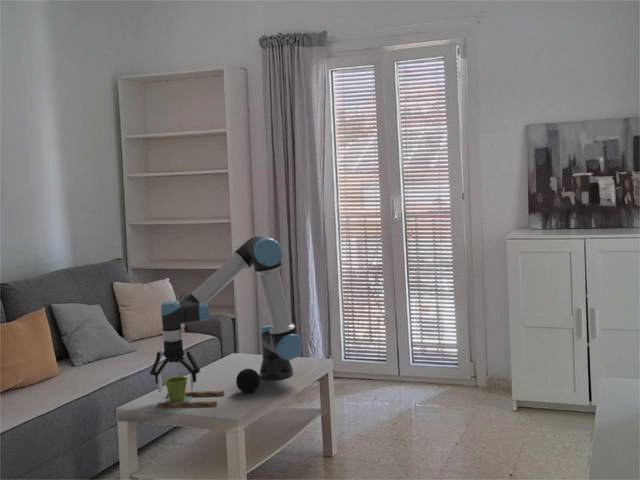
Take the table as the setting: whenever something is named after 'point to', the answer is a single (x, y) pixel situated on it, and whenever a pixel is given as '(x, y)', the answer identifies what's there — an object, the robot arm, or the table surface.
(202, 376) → the table surface
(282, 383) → the table surface
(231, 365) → the table surface
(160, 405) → the pair of walnut rails
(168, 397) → the marked pad
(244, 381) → the speaker
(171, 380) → the plant pot
